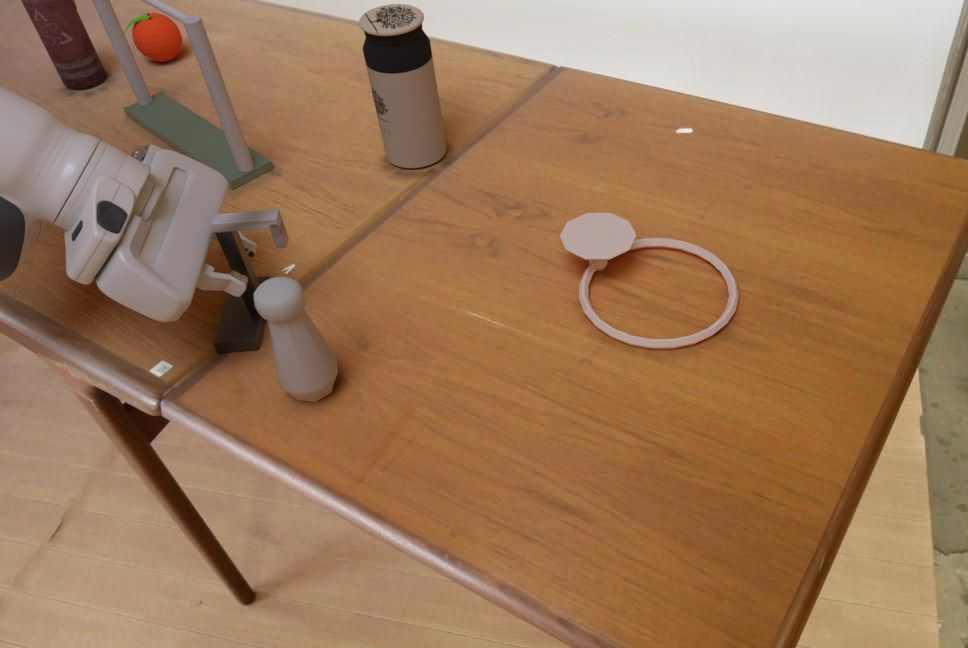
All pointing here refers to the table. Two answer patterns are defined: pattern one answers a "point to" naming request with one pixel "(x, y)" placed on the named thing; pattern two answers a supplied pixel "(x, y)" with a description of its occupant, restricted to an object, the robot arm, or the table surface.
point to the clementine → (156, 36)
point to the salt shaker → (295, 341)
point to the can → (66, 42)
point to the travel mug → (403, 85)
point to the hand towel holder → (615, 236)
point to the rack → (175, 119)
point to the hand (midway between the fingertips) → (249, 271)
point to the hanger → (239, 313)
